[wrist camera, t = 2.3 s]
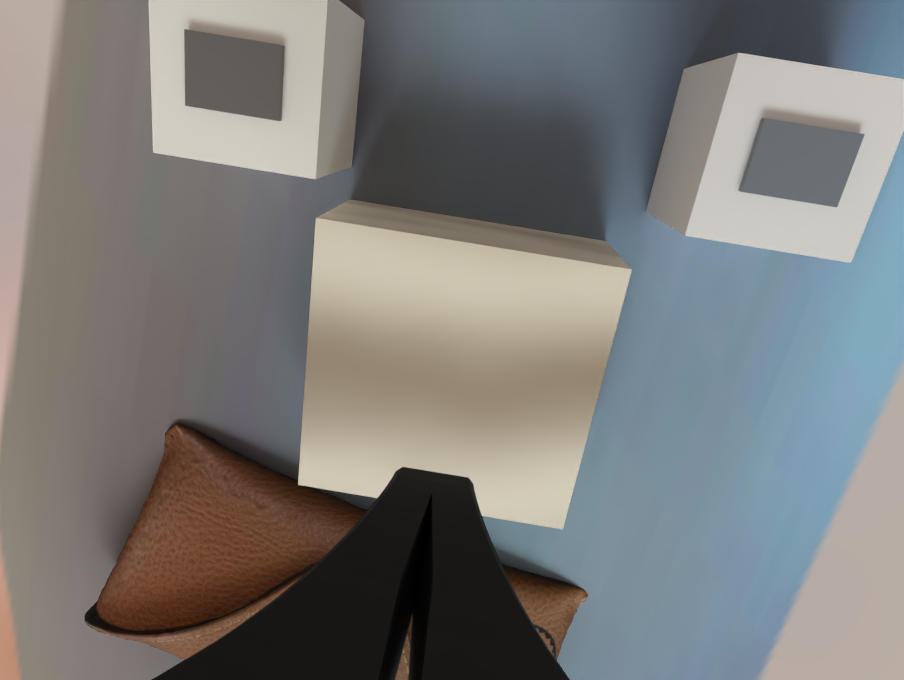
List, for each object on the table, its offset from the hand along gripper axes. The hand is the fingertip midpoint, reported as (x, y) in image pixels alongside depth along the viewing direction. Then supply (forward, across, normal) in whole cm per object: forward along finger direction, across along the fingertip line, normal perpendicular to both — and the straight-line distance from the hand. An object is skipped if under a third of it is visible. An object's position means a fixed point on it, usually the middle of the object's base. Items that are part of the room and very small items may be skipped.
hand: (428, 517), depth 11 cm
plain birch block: (+10, 0, 0) cm, 10 cm away
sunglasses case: (+10, +3, +11) cm, 15 cm away
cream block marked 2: (+10, +6, -7) cm, 13 cm away
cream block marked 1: (+10, -7, -7) cm, 14 cm away
